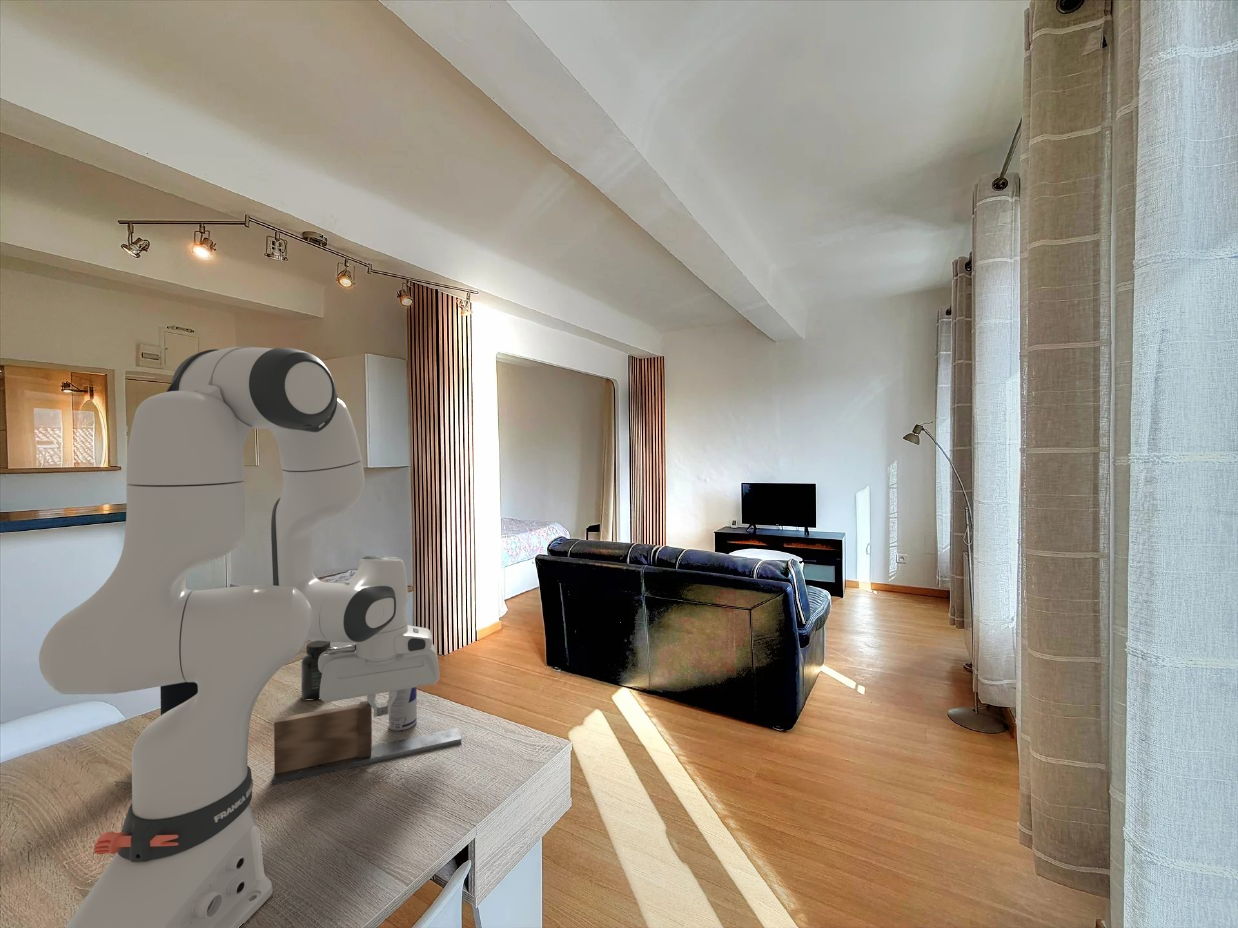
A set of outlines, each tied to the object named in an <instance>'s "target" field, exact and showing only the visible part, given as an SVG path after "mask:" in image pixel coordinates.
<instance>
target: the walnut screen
mask: <svg viewBox="0 0 1238 928" xmlns="http://www.w3.org/2000/svg"><path fill="white" fill-rule="evenodd" d="M372 710H373V708H372V706H371V705H370V704H369V703H368V701H367V700H362V701H359V703H356V704H350V705H344V706H339V707H332V708H327V709H322V710H315V711H310V712H304V713H299V714H293V715H287V716H286V715H285V716H282V717H276V718H275V720H274V722H273V731H274V732H273V733H274V735H273V738H274V740H273V741H274V742H273V744H274V745H273V749H274V750H273V751H274V754H273V755H274V761H273V762H274V763H273V764H274V766H273V767H274V768H273V769H274V773H273V775H274V774H278V773H283V772H288V771H292V770H297V769H302V768H306V767H311V766H316V765H321V764H325V763H330V762H335V761H339V760H344V759H349V758H353V757H358V756H359V758H363V757H367V756H371V750H372V745H373V742H372V741H373V740H372V739H373V734H372V733H373V732H372V731H373V727H372V726H373V723H372V721H373V720H372V717H373V715H372V713H373V712H372Z"/></svg>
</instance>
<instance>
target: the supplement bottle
mask: <svg viewBox="0 0 1238 928" xmlns="http://www.w3.org/2000/svg"><path fill="white" fill-rule="evenodd" d="M306 644H307V643H306ZM329 648H332V647H331V642H327V641H315V640H313V641H311V642H308V644H307V645H306V648H305V649H306V650H305V651H306V652H305V654H306V655H305V656H304V657H303V658H302V660H301V663H300V665H301V667H300V669H301V673H300V674H301V683H300V684H301V689H300V690H301V698H302V699H303V698H304V699H303V700H305V699H319V698H320V697H319V696H320V684H321V678H322V673H321V672H320V671H319V669H318V658H319V656H320V655H321V654H322V653H323V652H324V651H327V650H328V649H329ZM325 654H328V653H325Z"/></svg>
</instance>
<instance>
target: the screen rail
mask: <svg viewBox="0 0 1238 928" xmlns="http://www.w3.org/2000/svg"><path fill="white" fill-rule="evenodd" d="M461 736H462V735H461V732H460V727H454V728H450V729H446V730H440V731H436V732H432V733H426V734H422V735H417V736H416V735H415V736H412V737H411V736H410V737H407V738H402V739H398V740H392V741H386V742H382V743H378V744H374V745H373V744H372V750H371V756H367V757H363V758H359V756H358V757H353V758H349V759H344V760H339V761H335V762H330V763H325V764H321V765H316V766H311V767H306V768H302V769H297V770H292V771H288V772H283V773H278V774H274V773H273V775H272V778H271V786H274V785H278V784H282V783H287V782H292V781H297V780H302V779H305V778H311V777H315V776H319V775H320V776H321V775H324V774H328V773H333V772H337V771H342V770H346V769H351V768H352V769H353V768H355V767H356V768H357V767H360V766H361V767H362V766H365V765H369V764H373V763H379V762H383V761H388V760H392V759H396V758H401V757H405V756H406V757H407V756H410V755H416V754H418V753H423V752H428V751H433V750H437V749H441V748H442V749H443V748H446V747H451V746H455V745H459V744H460V745H461V744H462V737H461Z"/></svg>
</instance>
